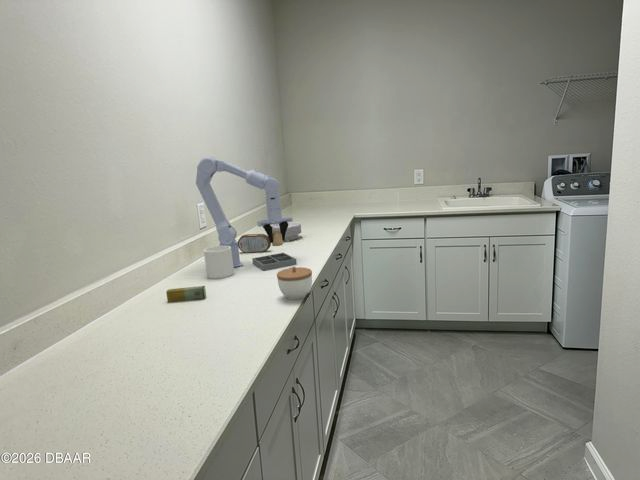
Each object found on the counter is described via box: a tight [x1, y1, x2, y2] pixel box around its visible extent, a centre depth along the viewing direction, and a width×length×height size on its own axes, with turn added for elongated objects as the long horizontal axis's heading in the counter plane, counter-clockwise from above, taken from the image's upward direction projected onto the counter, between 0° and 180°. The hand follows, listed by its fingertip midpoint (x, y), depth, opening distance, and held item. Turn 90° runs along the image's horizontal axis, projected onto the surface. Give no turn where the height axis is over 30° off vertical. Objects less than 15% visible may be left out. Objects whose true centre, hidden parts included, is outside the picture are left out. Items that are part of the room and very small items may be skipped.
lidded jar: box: [276, 266, 313, 301], centre depth 131 cm, size 11×11×9 cm
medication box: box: [166, 285, 207, 303], centre depth 136 cm, size 12×3×4 cm, turn 92°
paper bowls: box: [271, 221, 302, 242], centre depth 217 cm, size 15×15×8 cm
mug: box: [203, 245, 235, 280], centre depth 162 cm, size 13×10×10 cm
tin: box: [237, 233, 272, 254], centre depth 194 cm, size 15×3×8 cm, turn 84°
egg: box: [271, 231, 284, 247], centre depth 174 cm, size 4×4×6 cm
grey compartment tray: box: [251, 252, 298, 272], centre depth 171 cm, size 14×14×2 cm
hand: (277, 241), depth 174 cm, fingers closed on egg, 4 cm apart
